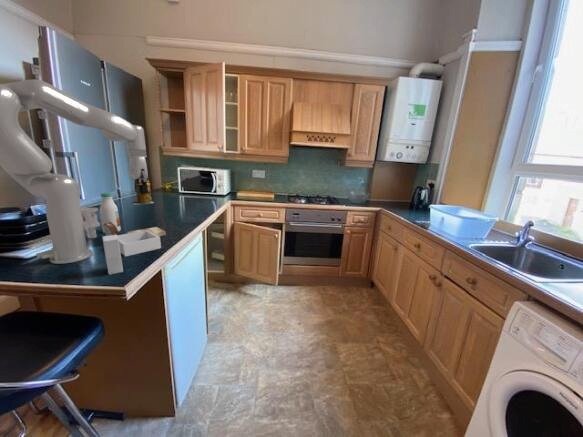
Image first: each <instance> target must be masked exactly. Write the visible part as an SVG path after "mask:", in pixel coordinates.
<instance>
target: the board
mask: <svg viewBox="0 0 583 437" xmlns="http://www.w3.org/2000/svg"><path fill="white" fill-rule="evenodd" d="M146 230H148V231H150V232H151V233H153V234H155V235H157V236H159V237H162V236H163V237H164V236H166V234H167V233H166V231H165V230H163V229H161V228H160V227H158V226H154V227H149V228H144V229H143V228H142V229H136V230H130V231H126V234H129V233H134V232H140V231H146Z"/></svg>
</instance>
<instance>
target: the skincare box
mask: <svg viewBox="0 0 583 437" xmlns="http://www.w3.org/2000/svg"><path fill="white" fill-rule="evenodd" d="M102 243H103V244H102V245H103V249H104V257H105V262H106V267H107V274H108V275H110V276H111V275H115V274H120V273H123V272H124V267H123V261H122V253H120V247H119V240H118V236H117V235H110V236H106V235H104V236H103V235H102Z"/></svg>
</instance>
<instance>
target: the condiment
mask: <svg viewBox="0 0 583 437" xmlns="http://www.w3.org/2000/svg"><path fill="white" fill-rule="evenodd" d="M141 182H142V180H141ZM135 185H136V192H135V193H136V201H131V202H130V203H131V204H132V205H146V204H154V203H155V202H154V201H152V199H153V198H152V191H151V189H152V188H151V183H150V181H149V177H148V178H147V187H148V193H145V194H141V193H140V187H139V185H140V182H139V178H138V179H136V184H135ZM135 185H134V186H135Z"/></svg>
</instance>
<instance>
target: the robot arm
mask: <svg viewBox="0 0 583 437" xmlns="http://www.w3.org/2000/svg"><path fill="white" fill-rule="evenodd" d="M35 109H41V110H45V111H47V112H49V113H51V114H53V115H56V116H57V117H60V118H61V119H64V120H65V121H66V120H67V121H69V122H70V123H73V124H75V125H77V126H78V125H79V126H83V127H88V128H93V129H95V128H96V129H99V130H101V133H102V135H103V136H104V137H105V138H106V139H107V140H109V141H111V142H125V145H126V151H127V152H126V154H127V157H128V158H129V159H128V166H129V176H130V178H131V179H133V184H134V192H135V193H136V185H135V184H136V179H138V178H139V182H140V185H139V187H140V193H141V194H145V193H148V187H147V178H148V179H149V177H148V176H149V175H148V174H149V173H148V167H147V165H148V164H147V160H146V158H147V157H148V156H147V146H146V138H145V130H144V128H143V127H142V126H141V125H137V124H132V123H131V122H130V121H129V120H128V121H127V119H124V118H122V117H121V116H119V115H117V114H114V113H112V112H110V111H108V110H105V109H102V108H99V107H97V106H94V105H92V104H88V103H86V102H84V101H82V100H80V99H78V98H76V97H74V96H73V95H70V94H68V93H67V92H65V91H64V90H61V89H60V88H58V87H56V86H54V85H52V84H50V83H48V82H46V81H43V80H40V79H26V80H19V81H15V82H8V83H0V167H1V168H2V169H3V170H4V171H5V172H6V173H7V174H8V175H9V176H10V177H11V178H12V179H13V180H15V181H16V182H17V183H18V184H19V185H20V186H21V187H23V189H25V190H26V191H27V192H28V193H30V194H32V195H33V196H35V197H36V198H39V199H44V200H46V202H45V214H46V215H45V216H46V220H47V224H48V225H47V226H48V229H49V234H50V239H51V244H52V247H50V248H51V249H49V250H48V251H45V252H38V253H36V259H43V260H44V259H48V258H49V262H50V263H52V264H54V265H55V264H56V265H61V264H69V263H77V262H79V261H84V260H86V259H89V258H91V257H92V256H93V254H94V252H93V250H92V249H89V248H88V246H87V241H86V240H87V239H86V234H85V228H83V222H82V216H83V215H81V210H80V207H81V203H80V202H81V200H80V199H81V188H80V185H79V183H78V182H77V181H76V180H75V179H74V178H72V177H71V176H70V175H67V174H60V173H52V172H51V171H52V169H53V162H52V160H51V158H50V157H49V156H48V155H47V154H46V153H45V152H44V151H43V150H42V149H41V148H40V146H38V145H37V144H36V142H34V141H33V140H32V139H31V138H30V136H29V135H28V134H27V133H26V131H24V129H23V128H22V127H21V125H20V122H19V113H21V112H25V111H29V110H35ZM141 180H142V182H141Z"/></svg>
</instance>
